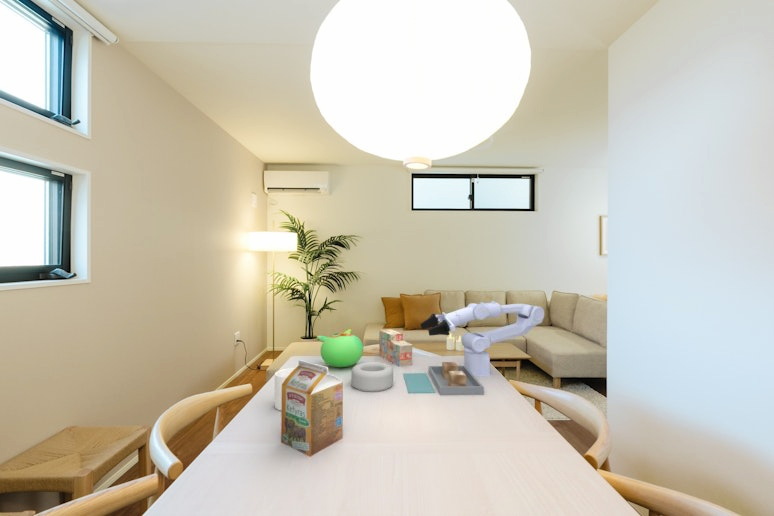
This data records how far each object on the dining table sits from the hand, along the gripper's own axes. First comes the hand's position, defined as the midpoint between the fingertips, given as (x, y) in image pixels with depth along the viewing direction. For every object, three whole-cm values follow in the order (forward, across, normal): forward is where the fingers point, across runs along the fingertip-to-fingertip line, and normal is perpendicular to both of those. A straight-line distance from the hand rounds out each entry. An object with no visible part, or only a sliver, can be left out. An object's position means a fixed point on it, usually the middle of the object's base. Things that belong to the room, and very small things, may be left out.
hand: (424, 329), depth 135 cm
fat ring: (+25, +4, +12) cm, 28 cm away
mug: (+52, +16, +2) cm, 54 cm away
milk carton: (+47, +37, +1) cm, 60 cm away
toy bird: (+33, -22, +13) cm, 41 cm away
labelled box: (-2, +16, +17) cm, 23 cm away
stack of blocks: (+9, -23, +20) cm, 32 cm away
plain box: (-4, +5, +19) cm, 20 cm away
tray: (-2, +11, +19) cm, 22 cm away
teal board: (+10, +8, +16) cm, 20 cm away
